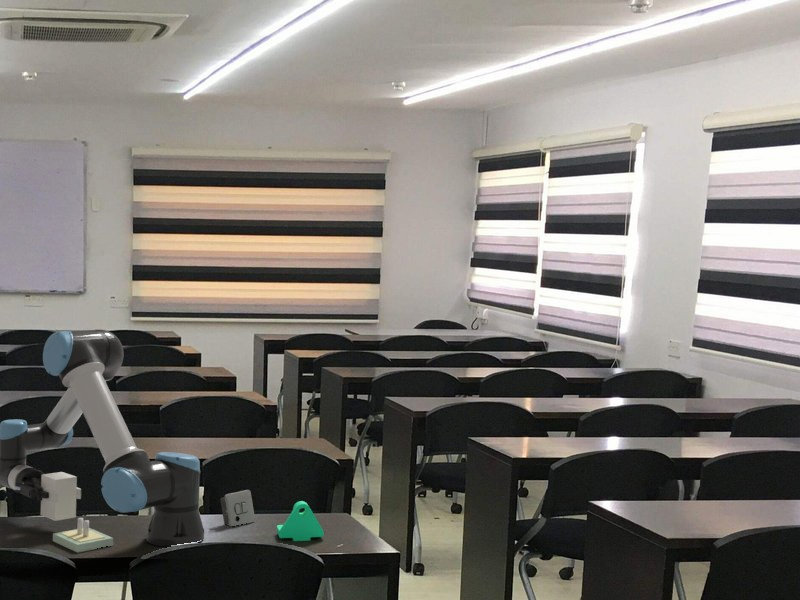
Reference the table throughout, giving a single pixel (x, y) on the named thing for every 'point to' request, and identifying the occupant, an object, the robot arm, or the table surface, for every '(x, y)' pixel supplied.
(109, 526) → the table surface
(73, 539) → the board
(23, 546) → the table surface
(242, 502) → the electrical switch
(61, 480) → the block
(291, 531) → the camera mount
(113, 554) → the table surface
